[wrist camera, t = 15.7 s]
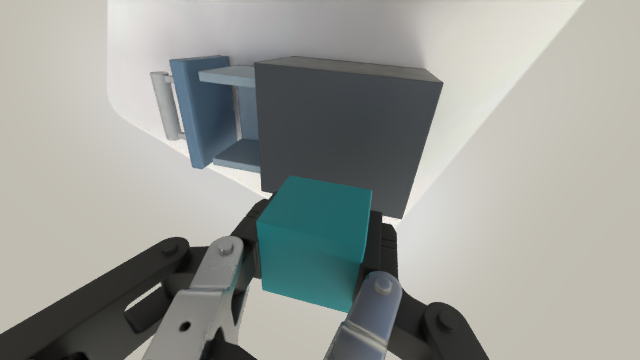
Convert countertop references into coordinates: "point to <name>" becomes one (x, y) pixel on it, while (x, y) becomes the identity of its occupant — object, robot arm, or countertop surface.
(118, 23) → the countertop surface
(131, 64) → the countertop surface
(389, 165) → the dark grey drawer cabinet
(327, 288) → the teal cube
